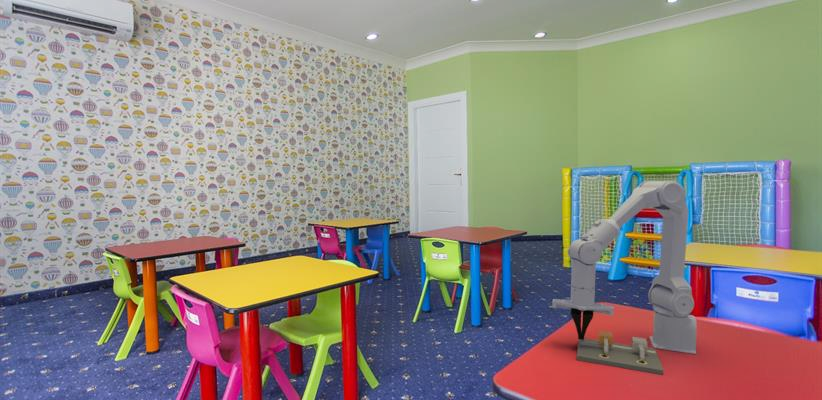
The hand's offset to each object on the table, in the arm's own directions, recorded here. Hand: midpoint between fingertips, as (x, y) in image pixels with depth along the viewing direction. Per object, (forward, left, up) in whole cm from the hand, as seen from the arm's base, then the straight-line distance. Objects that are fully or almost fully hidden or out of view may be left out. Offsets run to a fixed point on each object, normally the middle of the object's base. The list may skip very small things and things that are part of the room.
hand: (581, 338), depth 107 cm
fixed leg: (-13, +2, -1) cm, 14 cm away
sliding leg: (-6, +2, -1) cm, 6 cm away
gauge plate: (-8, +2, -2) cm, 9 cm away
